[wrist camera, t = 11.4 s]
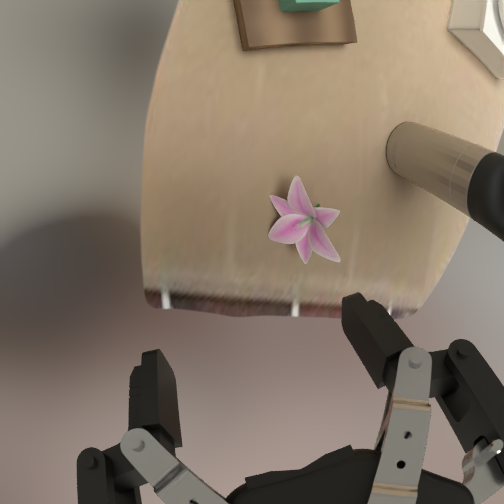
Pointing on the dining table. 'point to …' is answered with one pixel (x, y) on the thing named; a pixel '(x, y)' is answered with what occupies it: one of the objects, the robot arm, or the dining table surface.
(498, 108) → the dining table surface
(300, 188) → the lily
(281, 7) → the green cube
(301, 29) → the walnut base
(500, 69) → the butter dish
